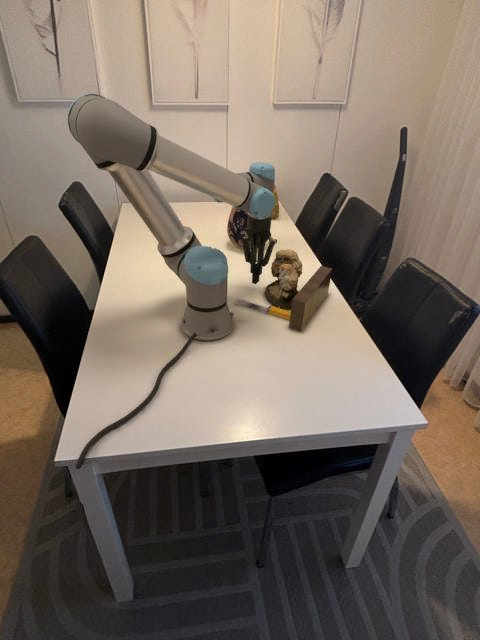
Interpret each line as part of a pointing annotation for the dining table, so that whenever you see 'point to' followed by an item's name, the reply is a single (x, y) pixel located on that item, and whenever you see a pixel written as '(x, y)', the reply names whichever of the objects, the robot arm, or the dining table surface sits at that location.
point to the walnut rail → (310, 298)
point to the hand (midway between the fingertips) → (255, 282)
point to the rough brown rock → (276, 208)
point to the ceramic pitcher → (237, 226)
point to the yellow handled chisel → (266, 309)
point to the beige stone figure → (284, 279)
